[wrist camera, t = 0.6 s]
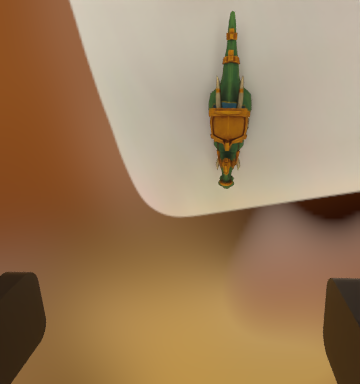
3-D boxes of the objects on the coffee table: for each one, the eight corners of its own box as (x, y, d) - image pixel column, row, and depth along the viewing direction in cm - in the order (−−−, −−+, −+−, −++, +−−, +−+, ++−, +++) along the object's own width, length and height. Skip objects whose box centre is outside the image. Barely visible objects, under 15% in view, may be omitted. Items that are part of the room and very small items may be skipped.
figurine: (211, 169, 30) (200, 208, 23) (213, 18, 26) (202, 5, 18) (246, 170, 30) (247, 210, 22) (255, 16, 25) (261, 3, 18)
